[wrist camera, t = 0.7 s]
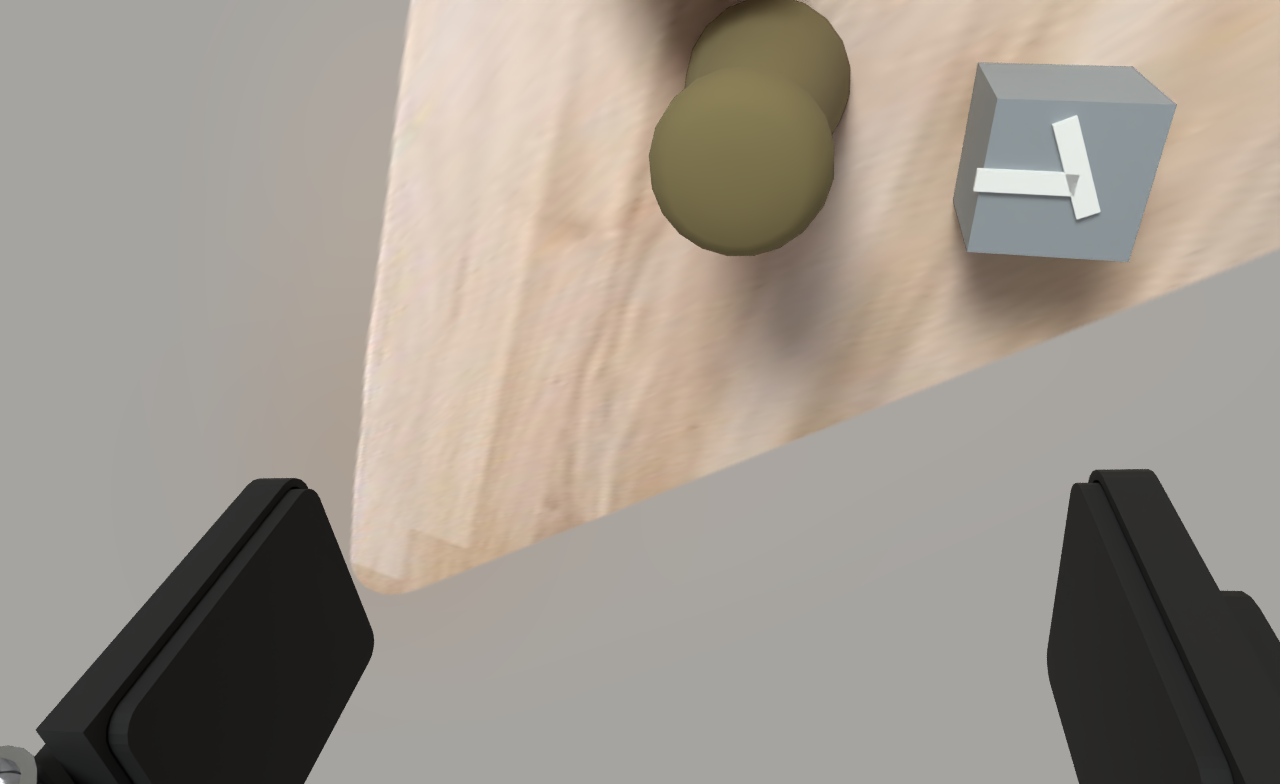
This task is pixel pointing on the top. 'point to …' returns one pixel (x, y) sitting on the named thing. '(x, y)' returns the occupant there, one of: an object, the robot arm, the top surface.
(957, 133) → the top surface
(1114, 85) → the slate numeral block
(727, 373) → the top surface
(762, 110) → the cork
